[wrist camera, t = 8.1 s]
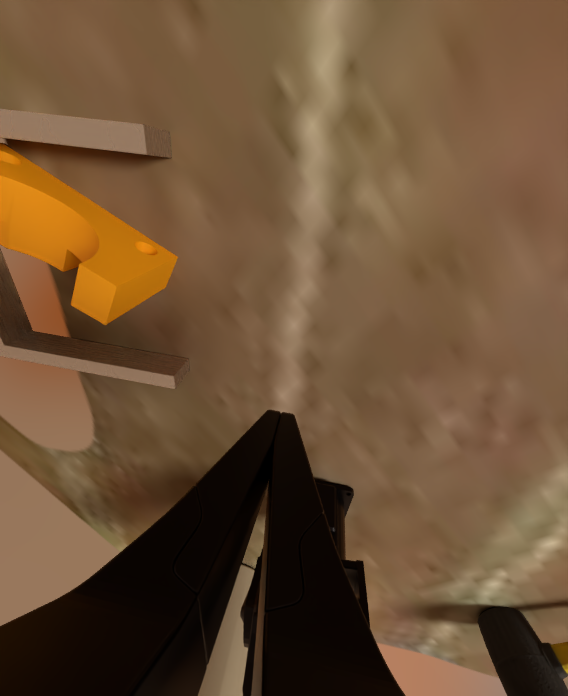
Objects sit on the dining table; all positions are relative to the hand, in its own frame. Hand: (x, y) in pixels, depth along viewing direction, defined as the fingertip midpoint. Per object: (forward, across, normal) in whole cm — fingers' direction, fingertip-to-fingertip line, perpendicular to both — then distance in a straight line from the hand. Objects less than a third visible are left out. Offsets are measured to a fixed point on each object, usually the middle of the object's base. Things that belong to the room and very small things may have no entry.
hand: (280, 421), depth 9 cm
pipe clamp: (+12, +16, -2) cm, 20 cm away
